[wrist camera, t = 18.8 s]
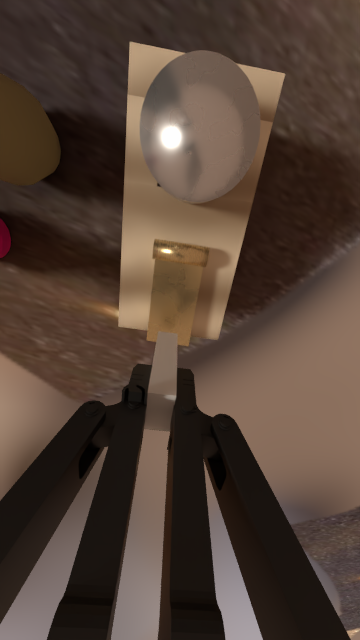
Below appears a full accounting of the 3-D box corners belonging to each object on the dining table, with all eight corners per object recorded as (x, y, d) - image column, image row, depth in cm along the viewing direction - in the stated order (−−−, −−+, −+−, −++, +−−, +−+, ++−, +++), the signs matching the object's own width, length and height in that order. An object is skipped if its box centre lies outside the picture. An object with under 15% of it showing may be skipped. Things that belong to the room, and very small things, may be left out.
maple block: (149, 107, 23) (129, 41, 14) (245, 125, 24) (285, 73, 15) (136, 293, 32) (118, 326, 23) (207, 303, 32) (217, 339, 23)
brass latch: (155, 238, 19) (153, 239, 18) (207, 246, 19) (210, 248, 18) (145, 335, 23) (143, 343, 21) (190, 341, 23) (190, 349, 21)
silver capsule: (162, 122, 22) (144, 38, 11) (231, 134, 23) (276, 64, 12) (155, 200, 25) (136, 192, 14) (216, 210, 26) (243, 209, 15)
